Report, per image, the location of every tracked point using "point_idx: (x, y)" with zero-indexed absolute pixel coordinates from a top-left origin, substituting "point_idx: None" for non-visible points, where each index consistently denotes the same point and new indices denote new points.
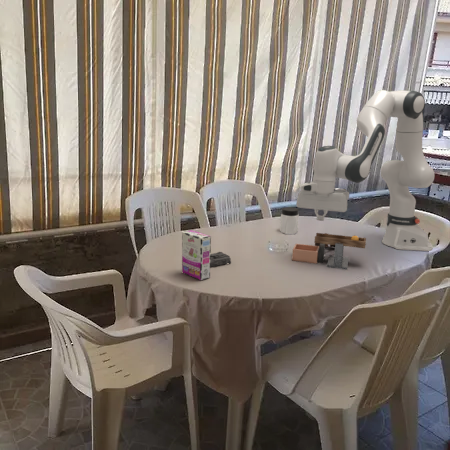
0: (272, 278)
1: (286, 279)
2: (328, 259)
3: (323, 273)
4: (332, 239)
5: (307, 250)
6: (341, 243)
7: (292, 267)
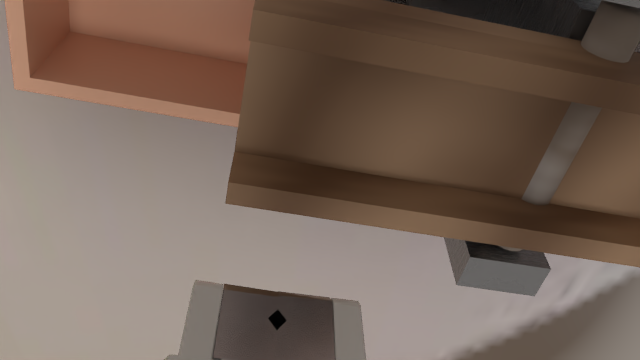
0: (21, 345)
1: (101, 346)
2: (409, 3)
3: (323, 248)
4: (450, 230)
5: (177, 104)
6: (530, 270)
7: (99, 183)
